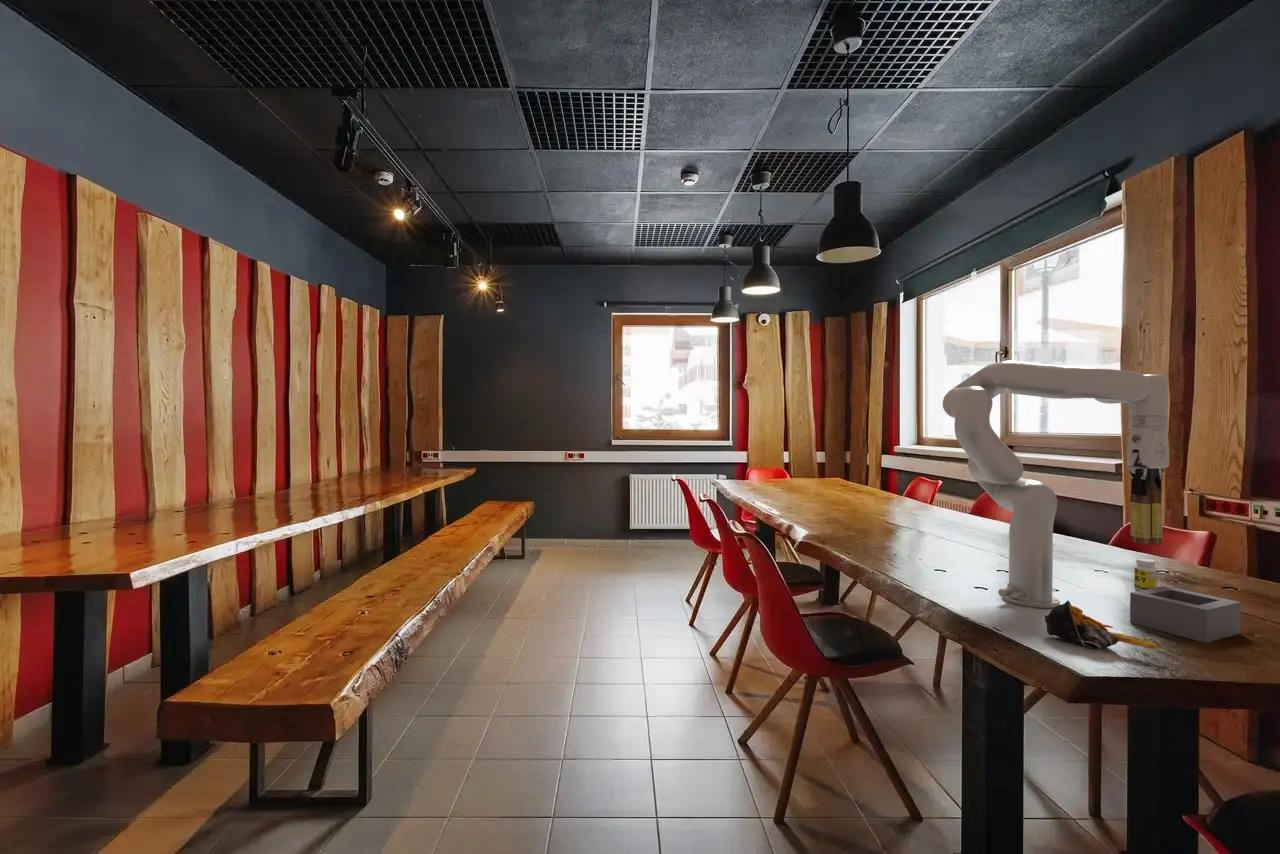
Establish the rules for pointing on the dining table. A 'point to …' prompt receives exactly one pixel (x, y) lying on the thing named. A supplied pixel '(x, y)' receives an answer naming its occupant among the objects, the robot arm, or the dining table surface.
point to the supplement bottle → (1145, 574)
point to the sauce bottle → (1147, 513)
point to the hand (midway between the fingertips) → (1146, 493)
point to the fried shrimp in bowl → (1087, 629)
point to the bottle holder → (1185, 613)
